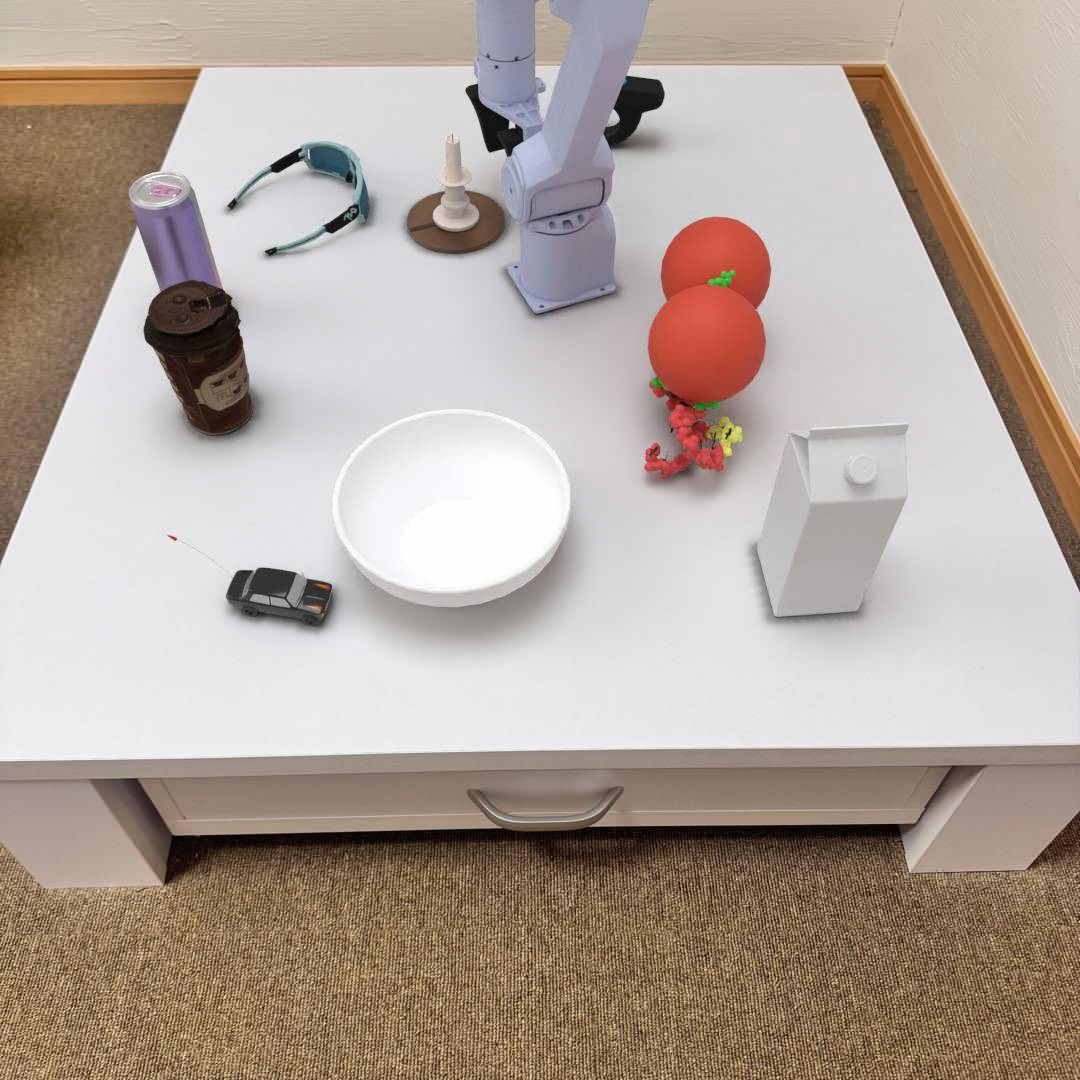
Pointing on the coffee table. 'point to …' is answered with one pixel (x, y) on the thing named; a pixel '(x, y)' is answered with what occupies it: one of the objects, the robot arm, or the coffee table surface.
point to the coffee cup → (202, 354)
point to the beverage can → (172, 229)
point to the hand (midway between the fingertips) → (509, 167)
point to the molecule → (707, 334)
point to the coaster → (455, 242)
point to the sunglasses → (325, 161)
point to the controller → (634, 106)
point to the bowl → (452, 507)
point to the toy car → (279, 593)
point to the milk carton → (832, 516)
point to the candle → (454, 192)
